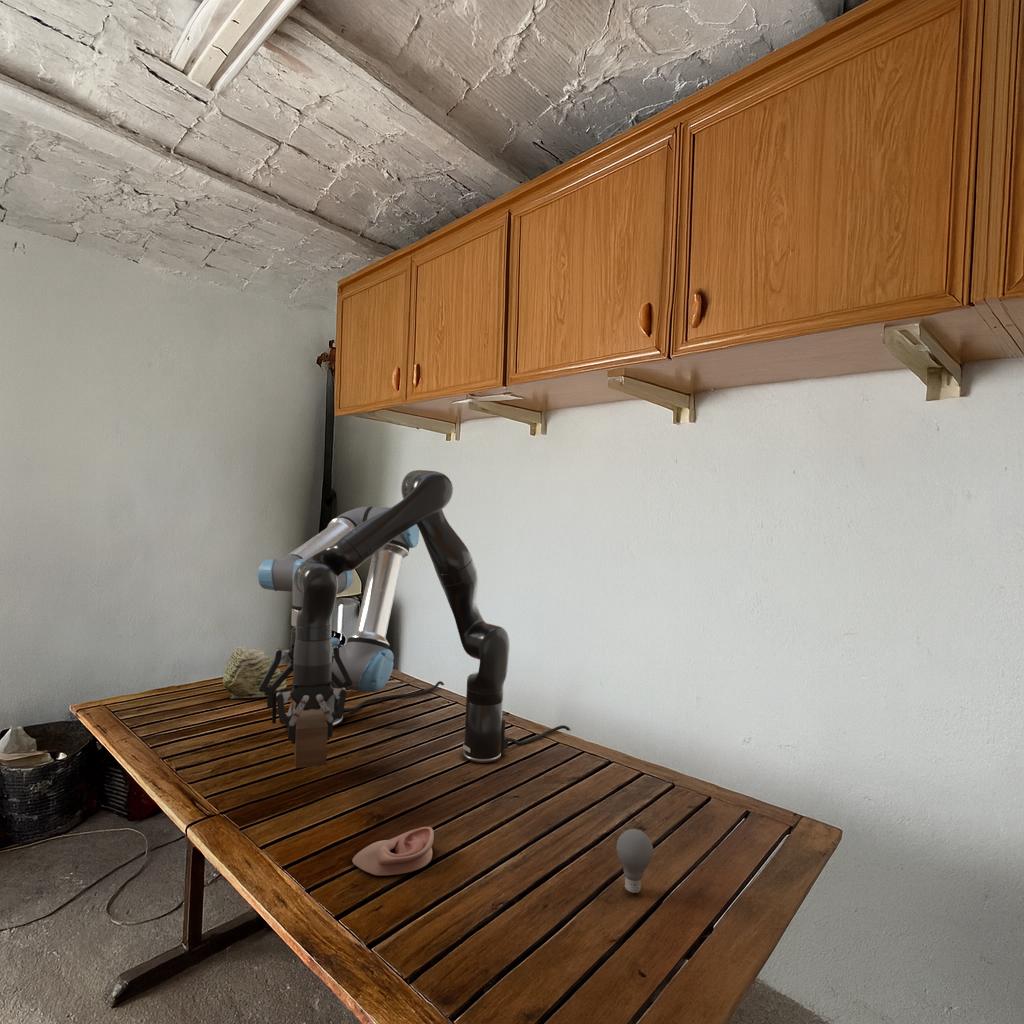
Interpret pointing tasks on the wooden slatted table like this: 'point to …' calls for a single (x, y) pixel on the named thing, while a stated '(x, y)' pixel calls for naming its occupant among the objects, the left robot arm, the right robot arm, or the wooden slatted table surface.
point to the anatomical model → (397, 853)
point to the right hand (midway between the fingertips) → (310, 740)
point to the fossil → (248, 673)
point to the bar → (310, 738)
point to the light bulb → (634, 857)
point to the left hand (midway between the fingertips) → (305, 718)
